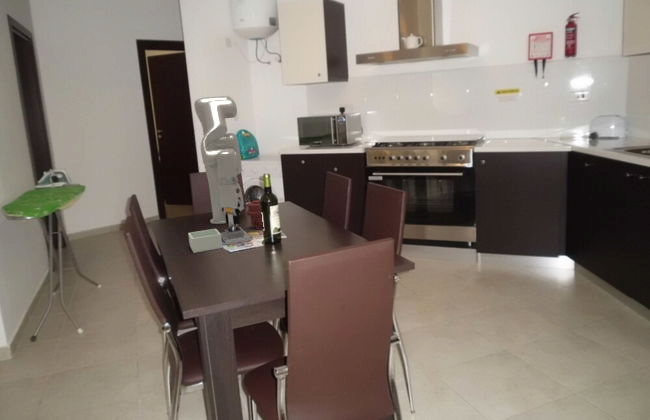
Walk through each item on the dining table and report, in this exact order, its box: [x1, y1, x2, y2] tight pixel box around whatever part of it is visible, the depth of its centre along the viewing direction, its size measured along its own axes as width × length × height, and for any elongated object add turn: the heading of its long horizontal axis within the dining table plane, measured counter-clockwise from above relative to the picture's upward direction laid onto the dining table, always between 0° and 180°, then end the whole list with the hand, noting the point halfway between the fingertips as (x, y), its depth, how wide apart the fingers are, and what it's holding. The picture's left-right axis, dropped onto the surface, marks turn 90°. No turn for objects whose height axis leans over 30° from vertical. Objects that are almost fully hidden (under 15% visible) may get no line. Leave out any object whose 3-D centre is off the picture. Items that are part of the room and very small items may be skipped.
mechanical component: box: [246, 199, 264, 230], centre depth 228 cm, size 12×10×10 cm
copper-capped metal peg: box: [225, 208, 239, 231], centre depth 211 cm, size 5×5×10 cm
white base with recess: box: [219, 226, 251, 245], centre depth 212 cm, size 14×10×4 cm
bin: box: [187, 228, 223, 254], centre depth 203 cm, size 11×11×6 cm
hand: (233, 223), depth 212 cm, fingers closed on copper-capped metal peg, 3 cm apart
